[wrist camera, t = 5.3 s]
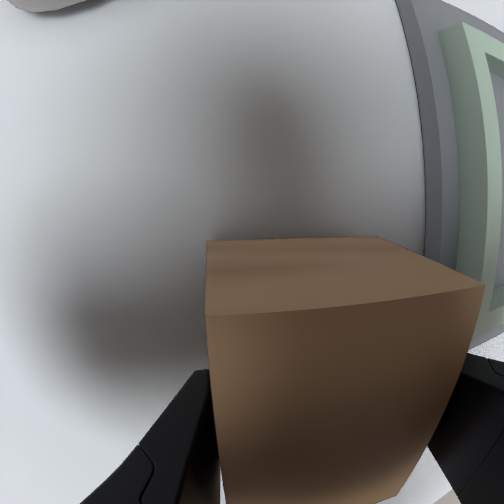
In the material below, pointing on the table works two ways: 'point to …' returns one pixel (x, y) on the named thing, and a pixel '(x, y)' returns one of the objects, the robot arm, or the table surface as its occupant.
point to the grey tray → (462, 145)
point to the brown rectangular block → (330, 364)
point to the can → (42, 4)
